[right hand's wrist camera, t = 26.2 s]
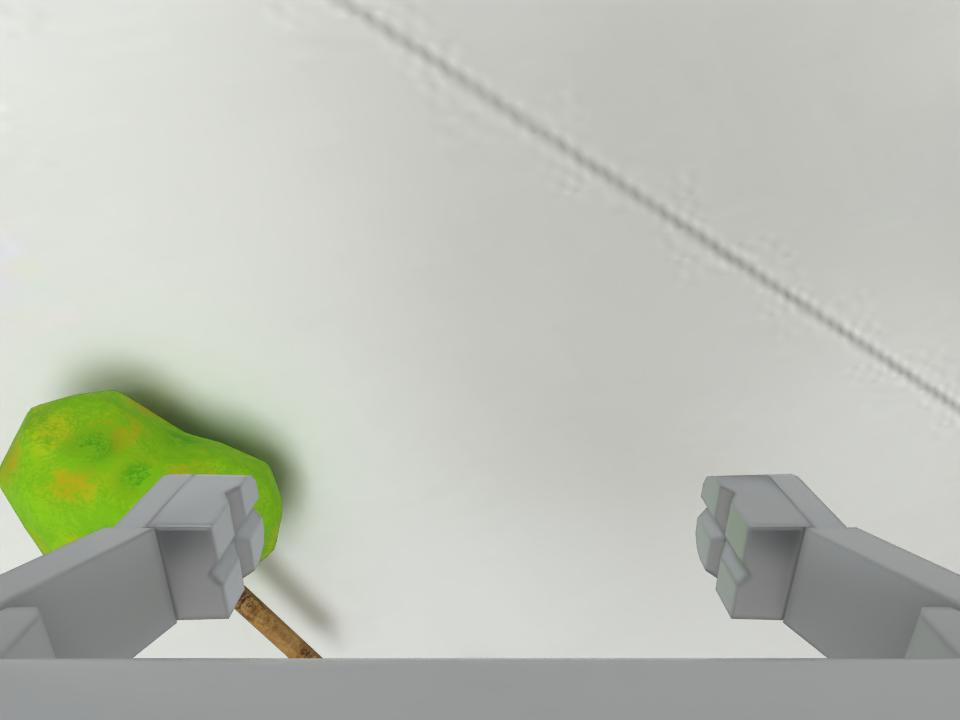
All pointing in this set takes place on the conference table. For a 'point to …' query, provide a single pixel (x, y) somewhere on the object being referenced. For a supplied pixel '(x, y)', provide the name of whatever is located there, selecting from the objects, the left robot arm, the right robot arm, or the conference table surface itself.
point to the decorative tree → (124, 479)
